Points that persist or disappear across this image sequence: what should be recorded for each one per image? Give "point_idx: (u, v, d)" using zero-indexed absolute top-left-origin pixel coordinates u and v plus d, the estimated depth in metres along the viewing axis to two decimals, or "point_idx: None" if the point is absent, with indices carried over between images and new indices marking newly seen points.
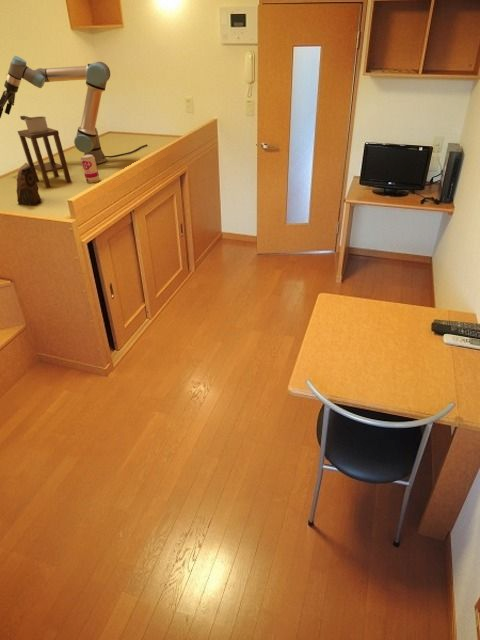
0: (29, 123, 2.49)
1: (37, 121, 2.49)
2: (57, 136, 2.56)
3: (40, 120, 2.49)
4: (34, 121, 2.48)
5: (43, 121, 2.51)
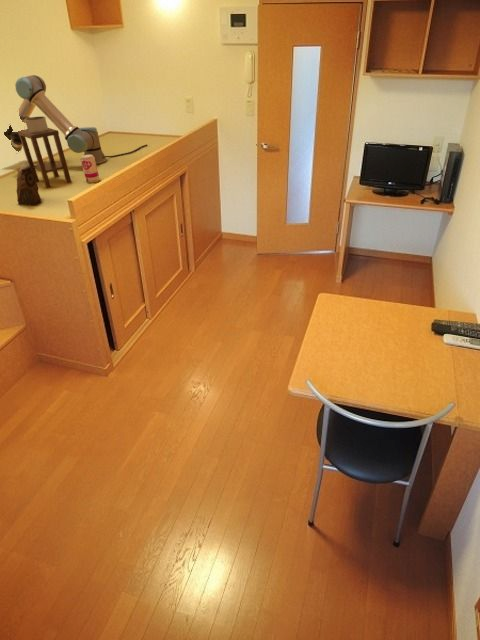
0: (29, 123, 2.49)
1: (37, 121, 2.49)
2: (57, 136, 2.56)
3: (40, 120, 2.49)
4: (34, 121, 2.48)
5: (43, 121, 2.51)
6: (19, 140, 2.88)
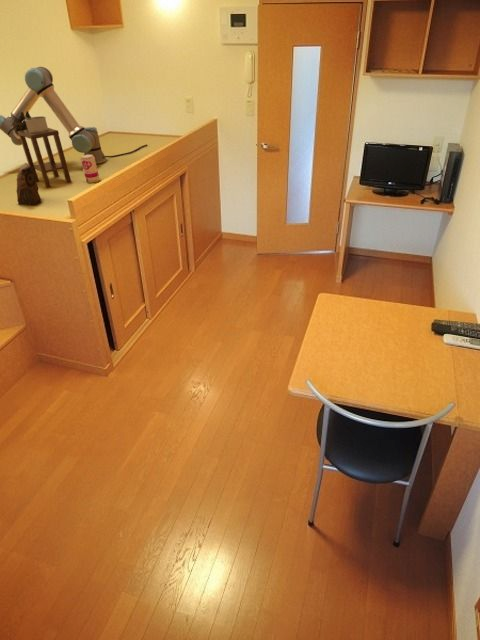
0: (29, 123, 2.49)
1: (37, 121, 2.49)
2: (57, 136, 2.56)
3: (40, 120, 2.49)
4: (34, 121, 2.48)
5: (43, 121, 2.51)
6: None
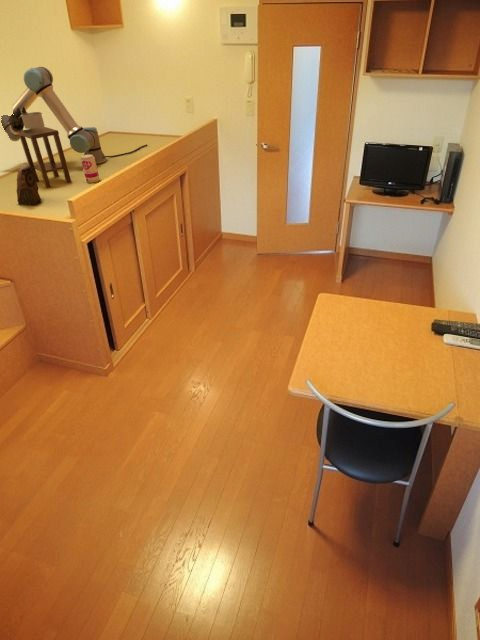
0: (25, 118, 2.50)
1: (33, 117, 2.50)
2: (57, 136, 2.56)
3: (36, 116, 2.51)
4: (30, 117, 2.50)
5: (39, 117, 2.53)
6: (18, 127, 2.78)
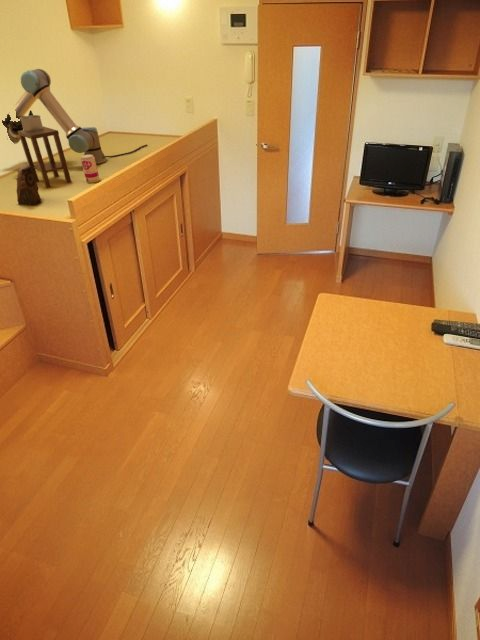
0: (24, 121, 2.54)
1: (32, 120, 2.54)
2: (57, 136, 2.56)
3: (35, 119, 2.54)
4: (29, 120, 2.53)
5: (38, 120, 2.56)
6: (18, 130, 2.81)
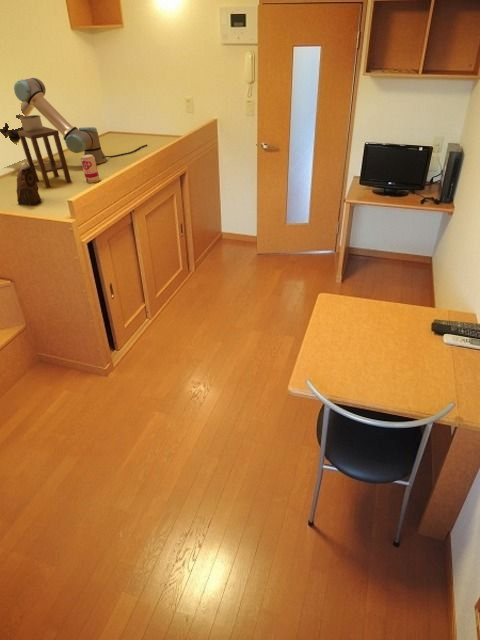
0: (24, 121, 2.54)
1: (32, 120, 2.54)
2: (57, 136, 2.56)
3: (35, 119, 2.54)
4: (29, 120, 2.53)
5: (38, 120, 2.56)
6: (15, 137, 2.91)
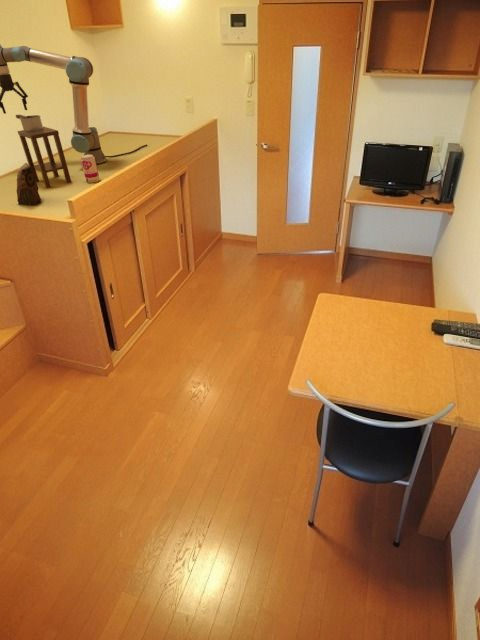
0: (24, 121, 2.54)
1: (32, 120, 2.54)
2: (57, 136, 2.56)
3: (35, 119, 2.54)
4: (29, 120, 2.53)
5: (38, 120, 2.56)
6: None
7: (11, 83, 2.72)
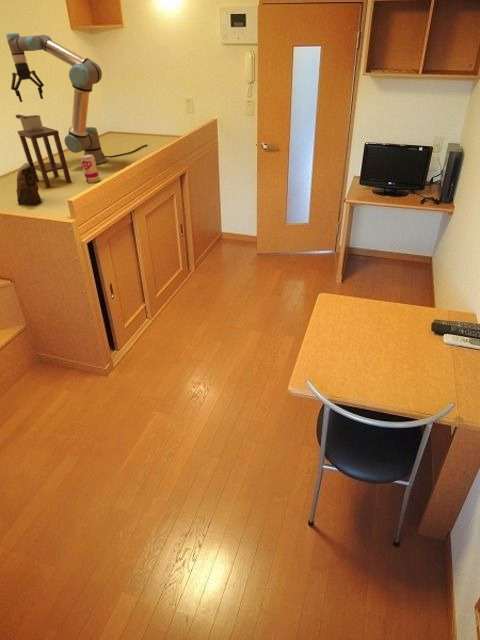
0: (24, 121, 2.54)
1: (32, 120, 2.54)
2: (57, 136, 2.56)
3: (35, 119, 2.54)
4: (29, 120, 2.53)
5: (38, 120, 2.56)
6: None
7: (28, 72, 2.76)
